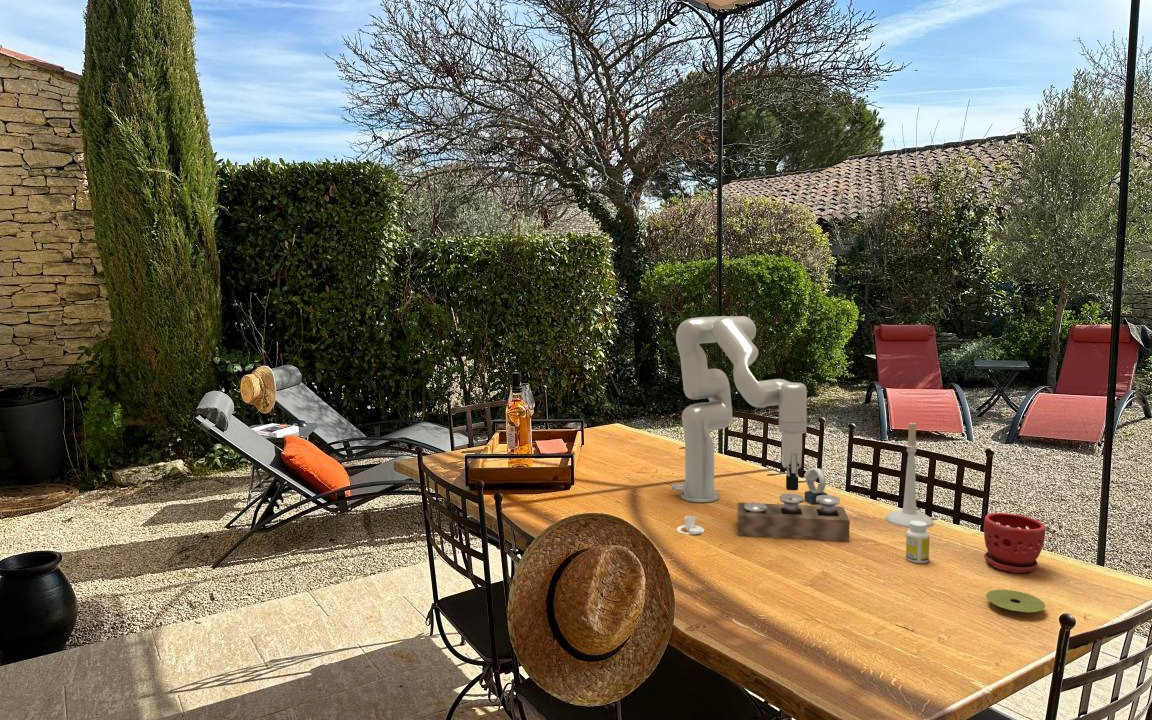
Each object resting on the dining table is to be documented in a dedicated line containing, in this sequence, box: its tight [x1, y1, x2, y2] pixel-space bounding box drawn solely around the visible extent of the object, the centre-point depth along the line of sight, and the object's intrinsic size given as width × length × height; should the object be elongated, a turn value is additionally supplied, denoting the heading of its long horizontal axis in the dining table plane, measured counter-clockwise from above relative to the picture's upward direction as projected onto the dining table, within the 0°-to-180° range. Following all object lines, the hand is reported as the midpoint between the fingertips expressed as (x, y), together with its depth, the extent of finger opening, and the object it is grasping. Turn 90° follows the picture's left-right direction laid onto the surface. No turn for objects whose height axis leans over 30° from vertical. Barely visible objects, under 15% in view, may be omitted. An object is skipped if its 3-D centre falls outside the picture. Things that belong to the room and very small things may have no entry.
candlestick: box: [885, 421, 934, 529], centre depth 219 cm, size 13×13×30 cm
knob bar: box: [736, 502, 851, 542], centre depth 214 cm, size 30×12×6 cm, turn 79°
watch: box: [803, 467, 828, 506], centre depth 240 cm, size 6×8×11 cm
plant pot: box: [983, 512, 1046, 574], centre depth 186 cm, size 13×13×12 cm
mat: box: [985, 589, 1046, 613], centre depth 164 cm, size 11×11×2 cm
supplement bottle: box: [905, 521, 930, 564], centre depth 191 cm, size 5×5×10 cm
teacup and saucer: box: [676, 515, 705, 535], centre depth 217 cm, size 9×8×4 cm
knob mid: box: [779, 493, 804, 514], centre depth 213 cm, size 6×6×5 cm
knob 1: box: [744, 502, 767, 513], centre depth 216 cm, size 6×6×5 cm
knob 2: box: [816, 494, 841, 516], centre depth 211 cm, size 6×6×5 cm
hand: (792, 489), depth 213 cm, fingers closed
